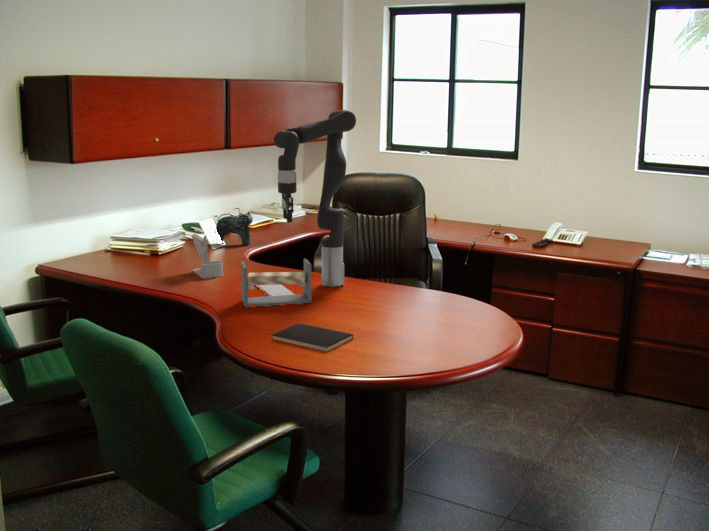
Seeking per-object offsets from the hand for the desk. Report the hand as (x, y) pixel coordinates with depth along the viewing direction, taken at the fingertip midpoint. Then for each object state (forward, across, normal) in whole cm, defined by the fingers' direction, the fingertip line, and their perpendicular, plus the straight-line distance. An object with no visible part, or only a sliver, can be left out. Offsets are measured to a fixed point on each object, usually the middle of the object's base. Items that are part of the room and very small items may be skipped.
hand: (287, 220), depth 317 cm
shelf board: (+22, +15, -7) cm, 28 cm away
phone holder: (+30, -38, -31) cm, 58 cm away
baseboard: (+31, -6, -8) cm, 32 cm away
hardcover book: (+31, +62, -2) cm, 69 cm away
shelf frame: (+30, +15, -8) cm, 34 cm away
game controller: (+30, -99, -13) cm, 104 cm away
